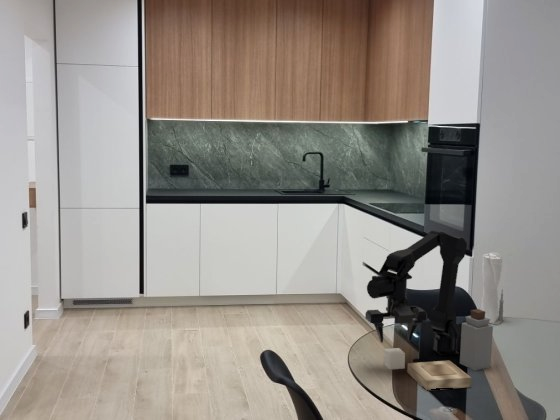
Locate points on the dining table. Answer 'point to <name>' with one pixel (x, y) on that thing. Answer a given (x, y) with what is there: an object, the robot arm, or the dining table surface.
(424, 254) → the robot arm
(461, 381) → the oak base
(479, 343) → the perfume bottle
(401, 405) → the dining table surface
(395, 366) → the cream cube
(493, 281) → the skyscraper
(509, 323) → the dining table surface
